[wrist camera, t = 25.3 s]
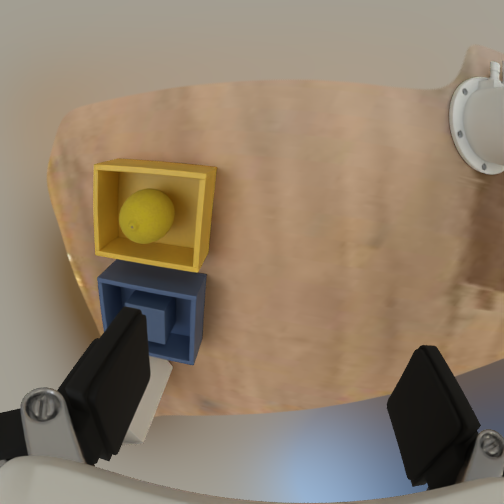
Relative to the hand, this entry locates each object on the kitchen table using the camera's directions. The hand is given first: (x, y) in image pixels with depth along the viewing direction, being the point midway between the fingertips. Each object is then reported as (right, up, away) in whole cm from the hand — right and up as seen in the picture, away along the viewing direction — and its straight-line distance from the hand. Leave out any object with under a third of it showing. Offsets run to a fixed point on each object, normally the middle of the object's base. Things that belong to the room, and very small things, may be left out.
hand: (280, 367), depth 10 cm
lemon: (-11, +9, +25) cm, 29 cm away
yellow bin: (-11, +9, +26) cm, 29 cm away
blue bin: (-13, -3, +30) cm, 33 cm away
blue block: (-13, -3, +30) cm, 33 cm away
